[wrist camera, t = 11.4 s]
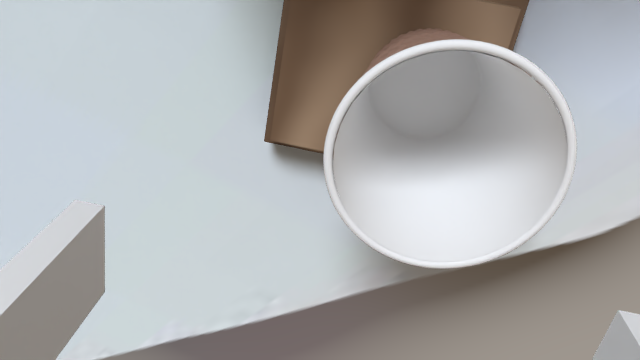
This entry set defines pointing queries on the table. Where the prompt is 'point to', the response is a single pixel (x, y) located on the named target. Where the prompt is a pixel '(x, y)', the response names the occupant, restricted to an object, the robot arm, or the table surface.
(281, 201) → the table surface
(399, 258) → the coffee cup
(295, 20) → the stand
